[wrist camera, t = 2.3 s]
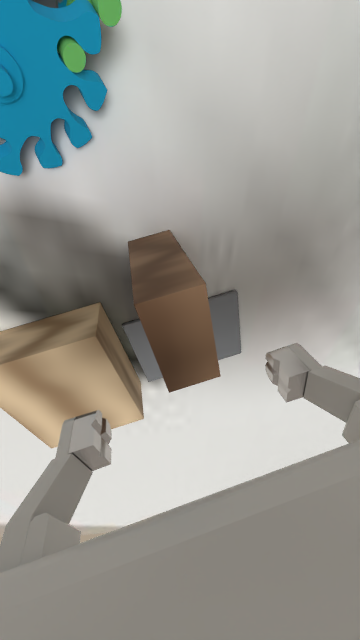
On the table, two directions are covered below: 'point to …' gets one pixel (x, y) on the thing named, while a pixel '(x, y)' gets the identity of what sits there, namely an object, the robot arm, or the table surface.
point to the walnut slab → (173, 310)
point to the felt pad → (223, 329)
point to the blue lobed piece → (47, 72)
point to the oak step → (67, 373)
